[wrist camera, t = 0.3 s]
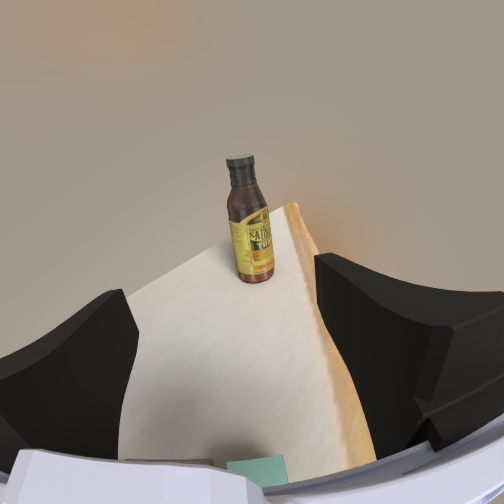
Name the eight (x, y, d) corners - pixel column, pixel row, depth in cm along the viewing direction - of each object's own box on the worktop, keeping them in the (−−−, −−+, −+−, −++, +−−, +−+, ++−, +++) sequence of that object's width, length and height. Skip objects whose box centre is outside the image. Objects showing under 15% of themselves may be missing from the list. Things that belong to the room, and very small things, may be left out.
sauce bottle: (262, 288, 48) (240, 161, 39) (231, 280, 51) (206, 162, 42) (283, 268, 52) (268, 151, 43) (254, 261, 56) (235, 152, 47)
